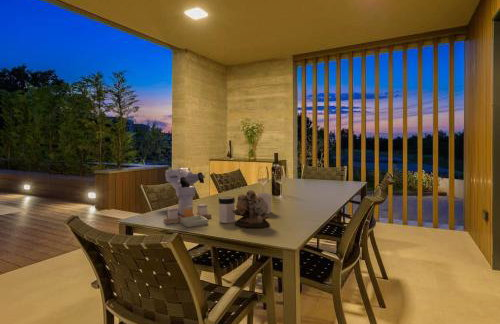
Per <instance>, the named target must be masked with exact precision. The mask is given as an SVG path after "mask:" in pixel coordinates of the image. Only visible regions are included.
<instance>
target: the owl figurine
mask: <svg viewBox="0 0 500 324" xmlns="http://www.w3.org/2000/svg"><path fill="white" fill-rule="evenodd" d="M267 205H268V204H267V203H265V201H264V200H263V198H262V197H257V193H256V192H255V190H252V189H250V190H249V189H248V191H246V194H244V193H240V194H238V196H237V202H236V205H235V210H233V213H235V216H238V217H240V218H238V219H237V220H235V222H234V225H235V227H237V228H241V229H242V228H243V229H246V230H247V229H249V230H250V229H251V230H255V229H256V230H258V229H265V228H269V227H270V226H271V225H270V224H271V223H269V221H268V220H267V219H269V218H270V215H269V214H266V213H267V211H268V206H267Z"/></svg>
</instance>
